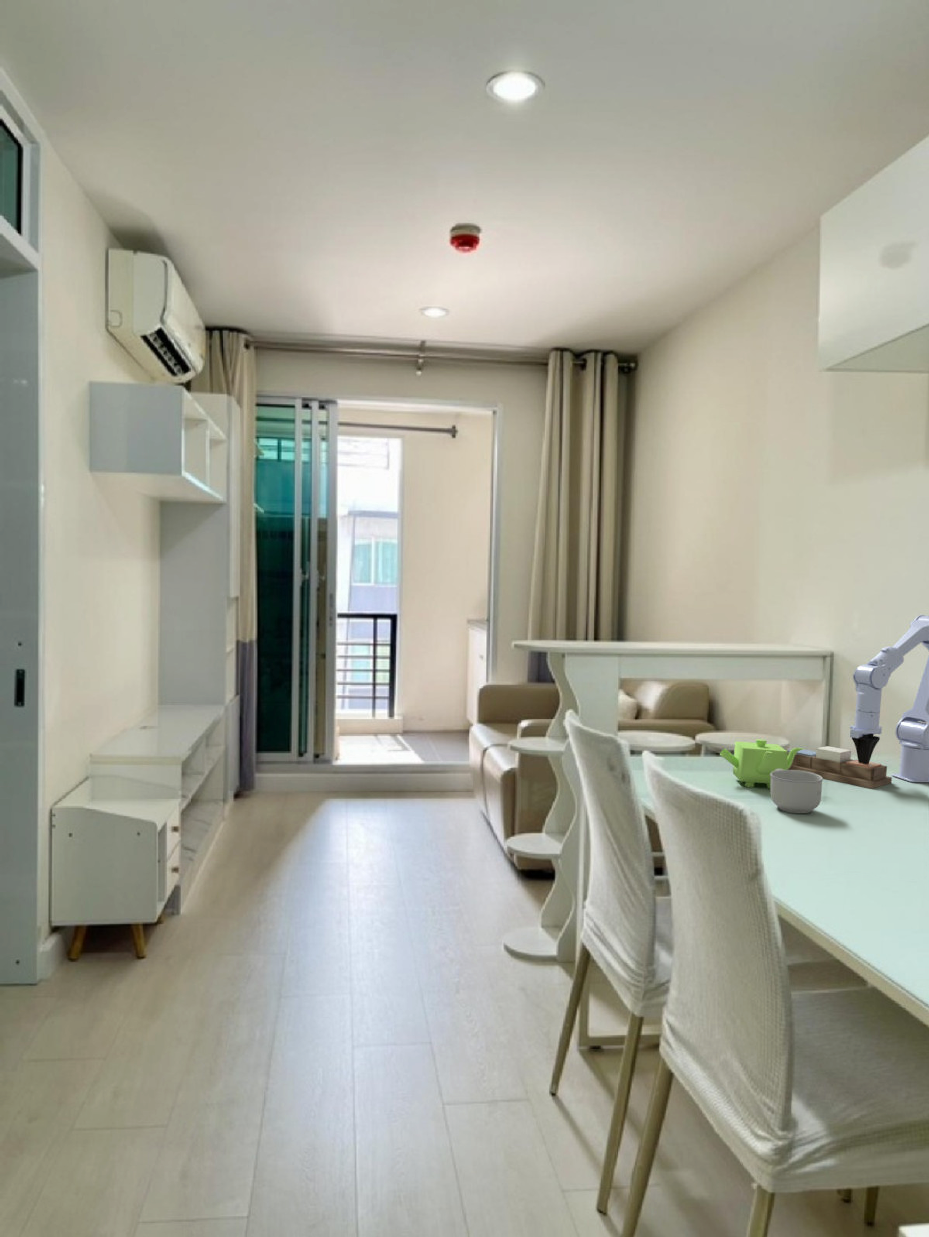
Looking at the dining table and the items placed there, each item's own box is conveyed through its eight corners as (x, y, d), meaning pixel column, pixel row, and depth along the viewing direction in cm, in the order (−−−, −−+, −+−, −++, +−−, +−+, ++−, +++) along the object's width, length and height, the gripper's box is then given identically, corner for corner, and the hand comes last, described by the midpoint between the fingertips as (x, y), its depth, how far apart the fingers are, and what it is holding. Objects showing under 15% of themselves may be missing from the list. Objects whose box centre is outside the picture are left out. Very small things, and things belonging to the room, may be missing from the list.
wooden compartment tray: (891, 783, 228) (892, 765, 228) (872, 788, 220) (873, 770, 220) (796, 763, 247) (797, 747, 247) (775, 768, 239) (776, 751, 239)
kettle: (801, 787, 216) (804, 743, 216) (771, 795, 207) (775, 748, 206) (746, 775, 227) (749, 732, 227) (716, 781, 218) (719, 736, 217)
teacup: (827, 818, 188) (830, 781, 188) (777, 815, 188) (779, 778, 188) (804, 801, 202) (806, 767, 201) (756, 798, 202) (759, 764, 202)
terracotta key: (880, 776, 227) (881, 764, 227) (870, 779, 223) (871, 766, 223) (855, 771, 232) (856, 759, 232) (845, 774, 228) (846, 761, 228)
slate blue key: (820, 764, 239) (821, 752, 239) (809, 766, 235) (810, 754, 235) (797, 759, 244) (798, 748, 244) (786, 762, 239) (787, 750, 239)
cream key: (850, 762, 233) (851, 750, 233) (839, 764, 229) (840, 752, 229) (826, 757, 238) (827, 746, 238) (815, 760, 233) (816, 748, 233)
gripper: (864, 707, 235) (860, 757, 235) (840, 710, 225) (835, 763, 225) (891, 711, 229) (887, 762, 230) (867, 714, 220) (863, 768, 220)
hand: (863, 763), depth 227 cm, fingers closed, pressing on terracotta key
